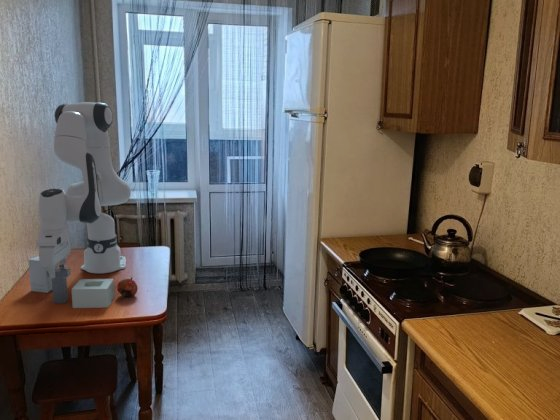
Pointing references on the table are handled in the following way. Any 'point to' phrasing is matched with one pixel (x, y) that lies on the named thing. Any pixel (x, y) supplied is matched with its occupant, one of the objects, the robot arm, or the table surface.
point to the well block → (93, 293)
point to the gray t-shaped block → (60, 285)
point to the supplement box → (39, 276)
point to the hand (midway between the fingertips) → (58, 273)
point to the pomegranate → (127, 288)
